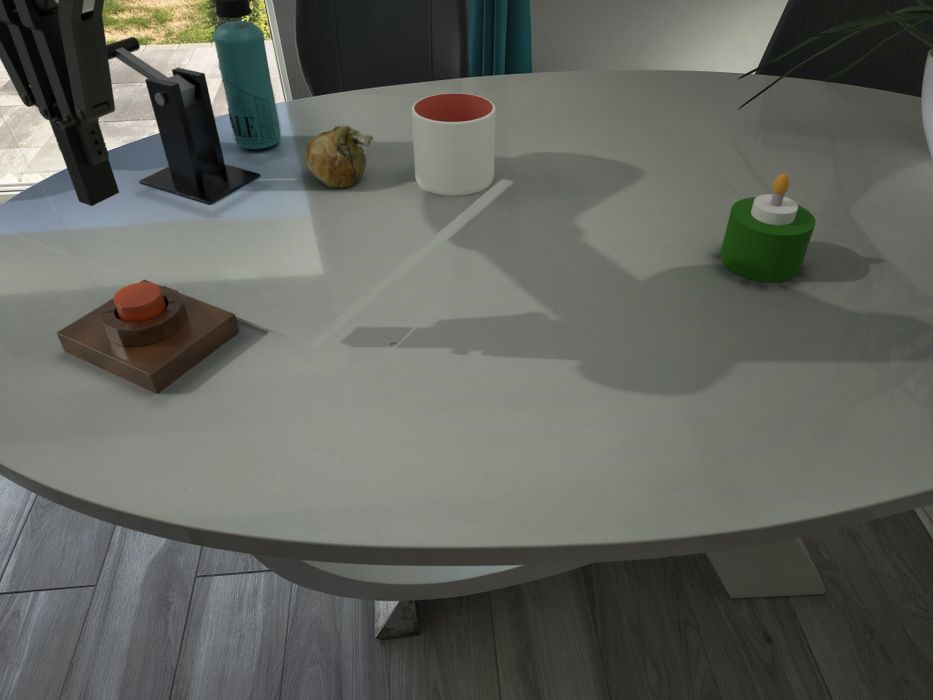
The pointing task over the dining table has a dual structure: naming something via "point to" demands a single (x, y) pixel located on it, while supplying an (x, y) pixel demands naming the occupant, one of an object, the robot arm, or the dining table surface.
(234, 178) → the bracket
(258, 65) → the beverage bottle
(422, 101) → the cup
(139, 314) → the button
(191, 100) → the lever
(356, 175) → the onion
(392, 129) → the dining table surface
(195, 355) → the button block
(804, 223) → the candle
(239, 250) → the dining table surface
